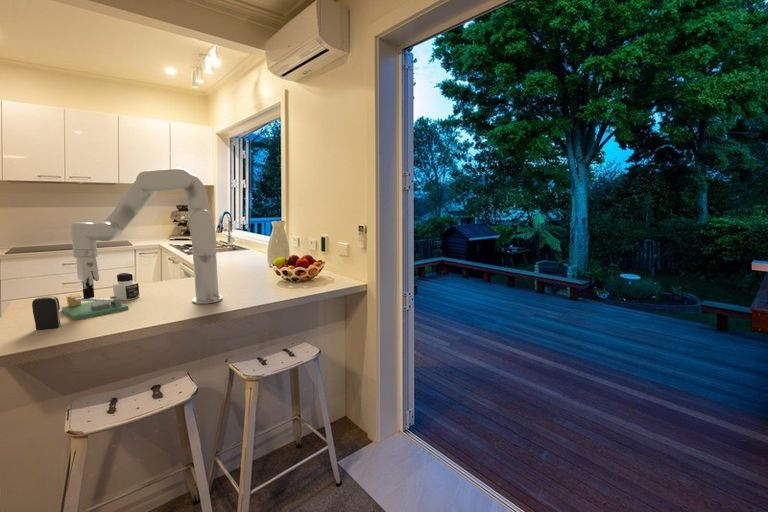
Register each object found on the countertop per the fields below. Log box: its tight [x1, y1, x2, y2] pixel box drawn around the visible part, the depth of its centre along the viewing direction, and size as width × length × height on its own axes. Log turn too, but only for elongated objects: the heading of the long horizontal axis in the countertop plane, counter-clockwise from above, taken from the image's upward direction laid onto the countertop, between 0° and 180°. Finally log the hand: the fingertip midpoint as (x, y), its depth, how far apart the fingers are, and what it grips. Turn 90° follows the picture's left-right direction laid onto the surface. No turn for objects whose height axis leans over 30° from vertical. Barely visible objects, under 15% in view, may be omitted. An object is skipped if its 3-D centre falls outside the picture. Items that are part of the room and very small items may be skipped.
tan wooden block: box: [65, 293, 82, 307], centre depth 155 cm, size 6×4×4 cm, turn 52°
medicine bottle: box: [112, 272, 140, 302], centre depth 173 cm, size 7×7×12 cm
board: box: [60, 295, 129, 321], centre depth 156 cm, size 19×18×5 cm
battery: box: [31, 296, 61, 330], centre depth 135 cm, size 7×4×11 cm, turn 112°
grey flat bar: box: [75, 297, 116, 302], centre depth 154 cm, size 3×14×1 cm, turn 143°
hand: (88, 297), depth 152 cm, fingers closed
